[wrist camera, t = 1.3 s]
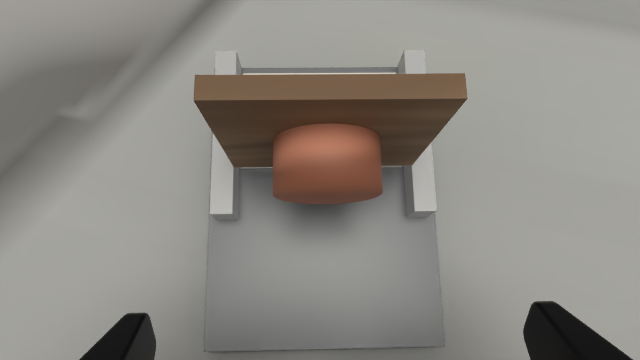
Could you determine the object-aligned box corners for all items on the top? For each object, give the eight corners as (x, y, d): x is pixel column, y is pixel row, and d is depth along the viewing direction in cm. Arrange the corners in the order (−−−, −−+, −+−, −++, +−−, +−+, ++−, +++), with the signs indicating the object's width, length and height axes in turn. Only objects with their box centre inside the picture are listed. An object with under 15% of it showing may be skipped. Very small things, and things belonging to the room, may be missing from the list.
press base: (437, 343, 23) (456, 351, 20) (209, 348, 22) (194, 357, 19) (418, 77, 26) (432, 50, 23) (219, 78, 26) (207, 51, 23)
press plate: (415, 209, 21) (473, 164, 13) (232, 211, 20) (190, 167, 13) (411, 148, 21) (464, 73, 14) (234, 150, 21) (195, 74, 14)
